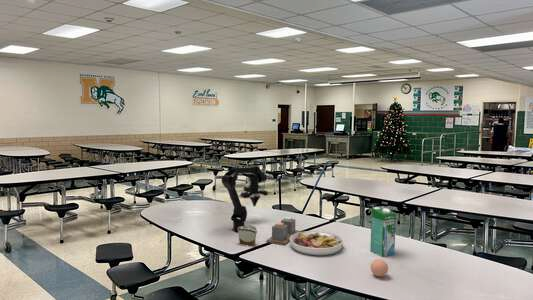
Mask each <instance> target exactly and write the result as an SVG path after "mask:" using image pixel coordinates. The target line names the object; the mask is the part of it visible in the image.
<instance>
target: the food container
mask: <svg viewBox="0 0 533 300" xmlns="http://www.w3.org/2000/svg"><path fill="white" fill-rule="evenodd" d="M237 231H238V232H237V233H238V242H239V245H240V244H241V246H246V245H248V246H247V247H251V246H253V248H254V247H255V245H256V238H257V237H256V236H257V234H258V229H257V228H256V227H255V226H252V225H244V226H241V227H238V229H237Z"/></svg>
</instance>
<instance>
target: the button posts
mask: <svg viewBox="0 0 533 300" xmlns="http://www.w3.org/2000/svg"><path fill="white" fill-rule="evenodd" d="M280 223H284V226H283V227H276V223H275V224H274V225H271V237H272V240H277V241H284V240H285V239H287V234H290V235H292V234H293V233H294V232H295V230H296V219H295V218H292V221H284V218H283V219H281V220H280Z"/></svg>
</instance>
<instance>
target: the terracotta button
mask: <svg viewBox="0 0 533 300" xmlns="http://www.w3.org/2000/svg"><path fill="white" fill-rule="evenodd" d="M275 224H276V227H283V226H284V223H281V222H279V221H278V222H277V223H275Z"/></svg>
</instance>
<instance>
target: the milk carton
mask: <svg viewBox="0 0 533 300" xmlns="http://www.w3.org/2000/svg"><path fill="white" fill-rule="evenodd" d="M396 219H397V214H396V212H394V211H393V210H391V209H390V208H388V207H386V206H385V205H380V206H374V207H371V219H370V220H371V222H370V224H371V225H370V248H369V249H370V252H371V253H373V254H375V255H377V256H379V257H381V258H384V257H387V256H388V257H389V256H392V255H395V251H396V250H395V249H396V248H395V247H396V243H395V242H396V221H397V220H396Z"/></svg>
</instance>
